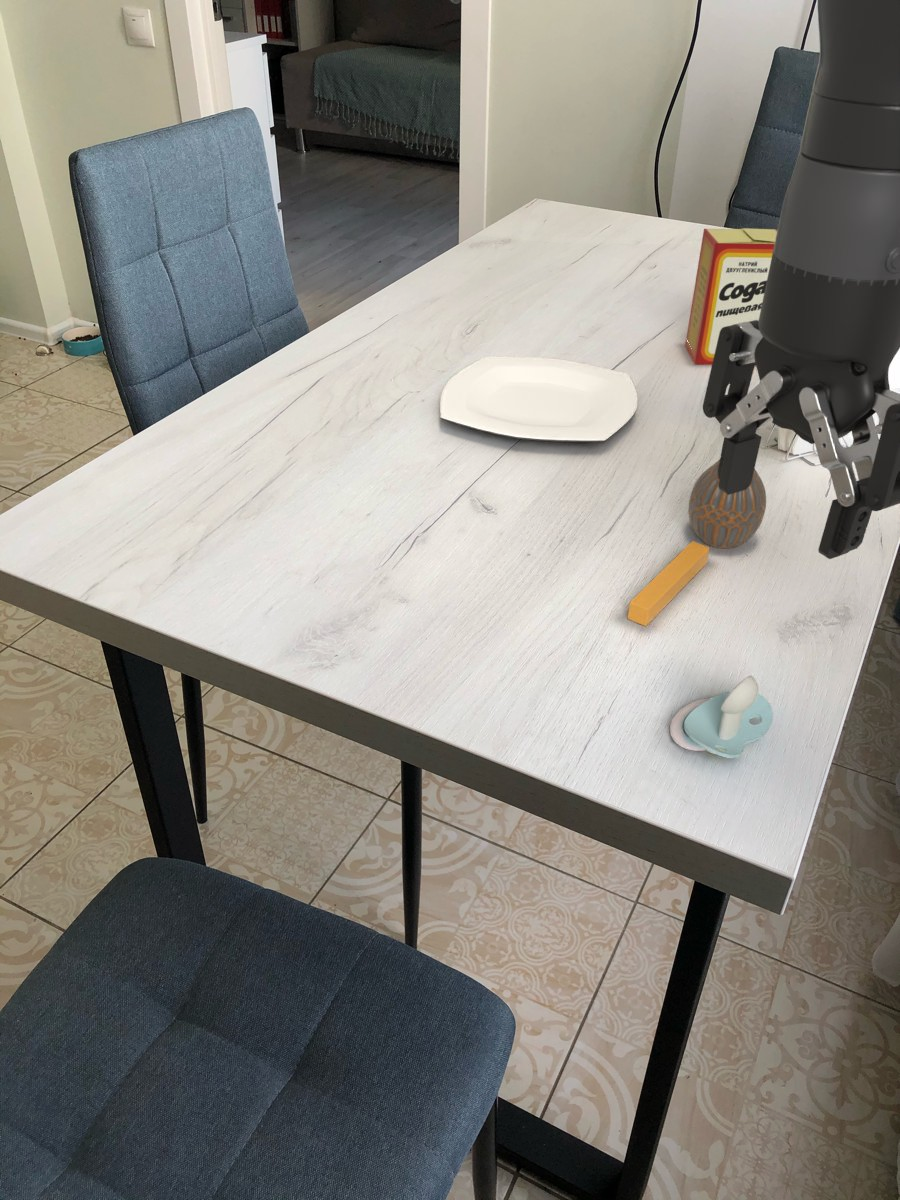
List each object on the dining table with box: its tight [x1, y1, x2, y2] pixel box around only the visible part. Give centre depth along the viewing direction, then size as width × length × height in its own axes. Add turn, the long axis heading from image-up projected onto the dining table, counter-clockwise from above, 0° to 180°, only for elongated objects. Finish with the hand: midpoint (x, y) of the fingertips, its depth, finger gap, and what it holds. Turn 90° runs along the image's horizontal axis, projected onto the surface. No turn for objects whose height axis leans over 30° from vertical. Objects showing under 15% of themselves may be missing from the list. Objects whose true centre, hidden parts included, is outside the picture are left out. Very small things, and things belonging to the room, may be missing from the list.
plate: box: [439, 356, 639, 443], centre depth 112 cm, size 23×23×2 cm
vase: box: [687, 458, 767, 549], centre depth 87 cm, size 7×7×9 cm
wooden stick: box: [627, 541, 711, 627], centre depth 82 cm, size 12×2×2 cm, turn 143°
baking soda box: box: [684, 227, 778, 366], centre depth 123 cm, size 10×6×16 cm
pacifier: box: [669, 675, 774, 759], centre depth 67 cm, size 7×6×6 cm
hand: (781, 519), depth 58 cm, fingers open, 8 cm apart
